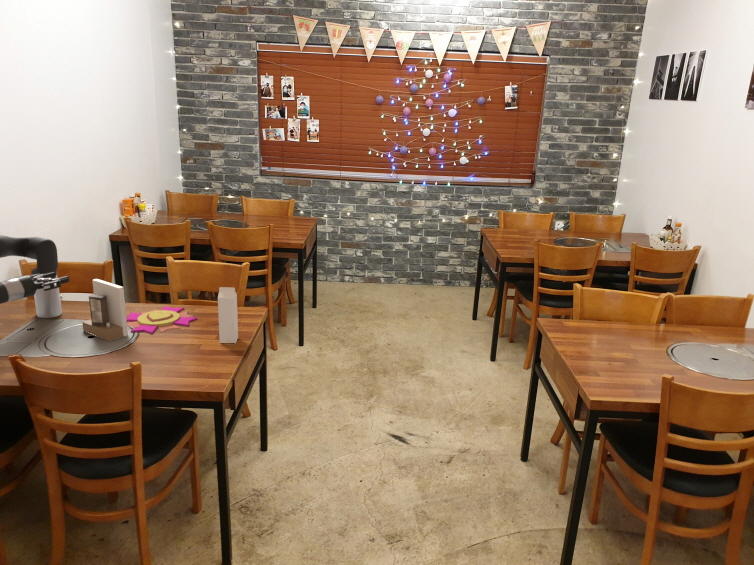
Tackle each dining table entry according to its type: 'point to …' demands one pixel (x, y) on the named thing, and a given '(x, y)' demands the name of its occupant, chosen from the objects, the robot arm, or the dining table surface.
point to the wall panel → (110, 312)
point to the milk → (227, 315)
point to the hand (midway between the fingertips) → (61, 276)
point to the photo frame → (99, 310)
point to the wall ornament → (159, 320)
